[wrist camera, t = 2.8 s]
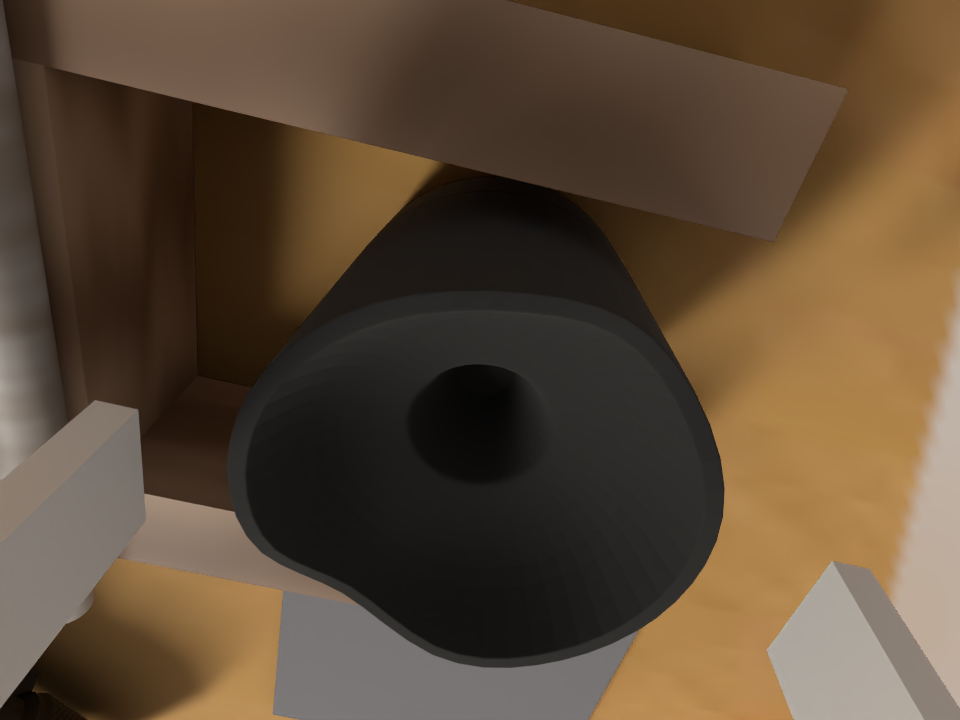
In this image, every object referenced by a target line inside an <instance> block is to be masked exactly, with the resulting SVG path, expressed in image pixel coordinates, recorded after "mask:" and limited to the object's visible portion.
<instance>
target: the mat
mask: <svg viewBox="0 0 960 720" xmlns="http://www.w3.org/2000/svg"><path fill="white" fill-rule="evenodd" d="M637 632H638V630H637V631H636V632H634V633H632V634H630V635H628V636H626V637H624V638H623V639H621V640H619V641H617V642H615V643H613V644H610V645H608V646H605V647H603V648H600V649H597V650H595V651H592V652H590V653H587V654H583V655H580V656H576V657H573V658H569V659H566V660H562V661H557V662H551V663H546V664H541V665H534V666H524V667H515V668H484V667H477V666H471V665H464V664H458V663H455V662H452V661H449V660H446V659H443V658H440V657H437V656H434V655H432V654H430V653H428V652H427V651H425V650H423V649H421V648H420V647H418V646H416V645H414V644H413V643H411V642H409V641H407V640H406V639H405V638H403V637H402V636H401V635H399V634H398V633H396V632H395V631H394V630H392V629H391V628H389V627H388V626H387V625H385V624H384V623H383V622H381V621H380V620H379V619H377V618H376V617H375V616H374V615H372V614H371V613H370V612H368V611H367V610H366V609H364V608H363V607H362V606H360V605H355V604H350V603H345V602H340V601H335V600H329V599H324V598H319V597H314V596H309V595H304V594H299V593H294V592H289V591H284V590H283V601H282V613H281V625H280V636H279V648H278V660H277V672H276V684H275V696H274V708H273V715H278V716H283V717H289V718H294V719H300V720H588V719H589V717H590V715H591V714H592V712H593V710H594V708H595V707H596V705H597V703H598V701H599V699H600V698H601V696H602V694H603V692H604V691H605V689H606V687H607V685H608V683H609V682H610V680H611V678H612V676H613V674H614V673H615V671H616V669H617V667H618V666H619V664H620V662H621V660H622V658H623V657H624V655H625V653H626V651H627V650H628V648H629V646H630V644H631V642H632V641H633V639H634V637H635V635H636V634H637Z"/></svg>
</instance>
